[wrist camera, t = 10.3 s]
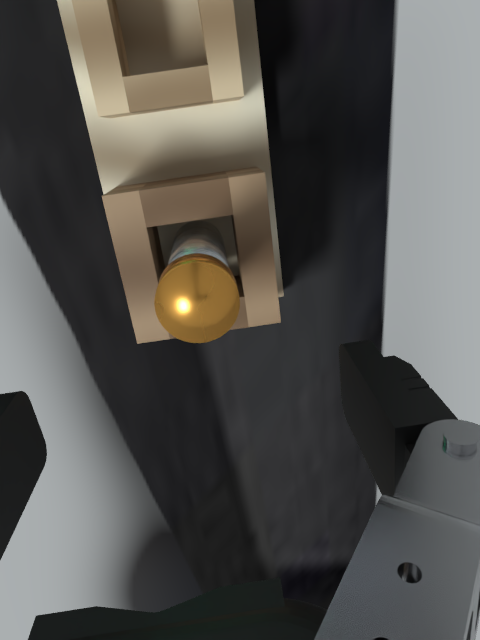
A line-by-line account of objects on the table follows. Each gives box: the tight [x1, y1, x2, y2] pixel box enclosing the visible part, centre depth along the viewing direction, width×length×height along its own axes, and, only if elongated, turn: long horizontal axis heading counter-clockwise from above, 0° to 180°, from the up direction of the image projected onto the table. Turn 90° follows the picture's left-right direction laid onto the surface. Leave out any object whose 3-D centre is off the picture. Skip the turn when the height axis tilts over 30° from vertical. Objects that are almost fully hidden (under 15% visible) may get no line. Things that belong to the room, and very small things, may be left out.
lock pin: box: [154, 220, 240, 343], centre depth 23 cm, size 3×3×10 cm
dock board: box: [57, 0, 284, 344], centre depth 24 cm, size 18×10×5 cm, turn 8°
